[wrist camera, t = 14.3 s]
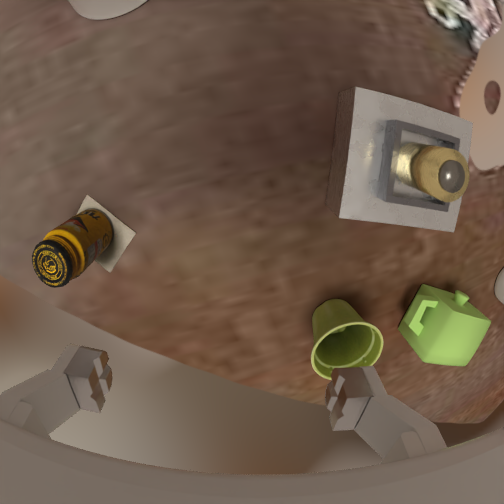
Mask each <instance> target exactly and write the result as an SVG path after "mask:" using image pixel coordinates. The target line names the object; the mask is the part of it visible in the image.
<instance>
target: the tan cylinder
mask: <svg viewBox="0 0 504 504" xmlns="http://www.w3.org/2000/svg"><path fill="white" fill-rule="evenodd" d="M397 175H398V177H399V179H400V180H401V181H402V182H403V183H404V184H406V185H408V186H410V187H412V188H415V189H417V190H419V191H421V192H424V193H426V194H428V195H430V196H432V197H435V198H437V199H439V200H441V201H443V202H453V201H456V200H457V199H459V198H460V197H461V196H462V195H463V194H464V192H465V190H466V188H467V186H468V182H469V167H468V164H467V161H466V159H465V158H464V156H463V155H462V154H461V153H460V152H458V151H457V150H454V149H450V148H445V147H439V146H434V145H428V144H422V143H416V142H412V143H408V144H406V145H404V146H403V147H402V148H401V149H400V151H399V158H398V165H397Z"/></svg>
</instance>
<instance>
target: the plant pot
mask: <svg viewBox="0 0 504 504" xmlns="http://www.w3.org/2000/svg"><path fill="white" fill-rule="evenodd" d="M312 325H313V335H314V346H313V349H312V353H311V363H312V367H313V369H314V370H315V371H316V373H317V374H319V375H320V376H322V377H323V378H326V379H330V380H332V379H331V373H332V370H333V369H334V368H345V367H362V366H372V365H373V364H374V363H375V362H376V361H377V359H378V358H379V356H380V354H381V351H382V348H383V337H382V334H381V332H380V331H379V330H378V328H377V327H375V326H374V325H372V324H370V323H368V322H365V321H364V320H363V319H362V318H361V317H360V316H359V314H358V313H357V312H356V311H355V310H354V309H353V308H352V307H351V306H350V305H349V304H348V303H347V302H346V301H344V300H341V299H331V300H328V301H326V302H324V303H323V304H322V305H321V306H319V307H317V308H316V310H315V311H314V314H313V317H312Z"/></svg>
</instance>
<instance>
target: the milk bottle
mask: <svg viewBox="0 0 504 504" xmlns="http://www.w3.org/2000/svg"><path fill="white" fill-rule="evenodd" d="M494 292H495V295H496V297H497V299H499V300H500V301H501V302H502V303H503V304H504V268H503V269H502V270H501V272H500V273H499V275H498V277H497V279H496V282H495V287H494Z"/></svg>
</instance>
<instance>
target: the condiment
mask: <svg viewBox="0 0 504 504" xmlns="http://www.w3.org/2000/svg"><path fill="white" fill-rule="evenodd" d="M115 232H116V234H115ZM135 234H136V233H135V232H134V231H133V230H131V229H130V228H129V227H128V226H126V225H125V224H123V223H122V222H121V221H120V220H118V219H117V218H116V217H115V216H113V215H112V214H111V213H110V212H109V211H107V210H106V209H105V208H103V207H102V206H101V205H100V204H99V203H97V202H96V201H95V200H94V199H92V198H91V197H90V196H88V195H87V196H86V198H85V199H84V201H83V203H82V205H81V207H80V209H79V211H78V213H77V215H75V216H73V217H72V218H70V219H69V220H68V221H66V222H64V223H63V224H61V225H59V226H58V227H56V228H55V229H53V230H52V231H50V232H49V233H48V234H47V235H46V236H45V238H44V240H43V241H42V242H40V243H39V244H37V245H36V247H35V249H34V251H33V255H32V263H33V267H34V270H35V272H36V274H37V276H38V277H39V278H40V280H41V281H42V282H44V283H45V284H46V285H48V286H50V287H54V288H55V287H63V286H64V285H66V284H67V283H69V281H70V280H72V279H74V278H77V277H78V276H80V274H81V273H83V272H84V270H85V269H86V268H87V267H88V266H89V265H90V264H91V263H92V262H93V261H94V260H95V261H96V262H97V263H99V264H100V265H101V266H102V267H103V268H104V269H106V270H107V271H109V272H111V271H112V269H113V267H114V266H115V264H116V263H117V261H118V260H119V258H120V256H121V255H122V253H123V252H124V250H125V249H126V247H127V246H128V244H129V243H130V241H131V240H132V238H133V237H134V235H135ZM116 235H117V237H116Z"/></svg>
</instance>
